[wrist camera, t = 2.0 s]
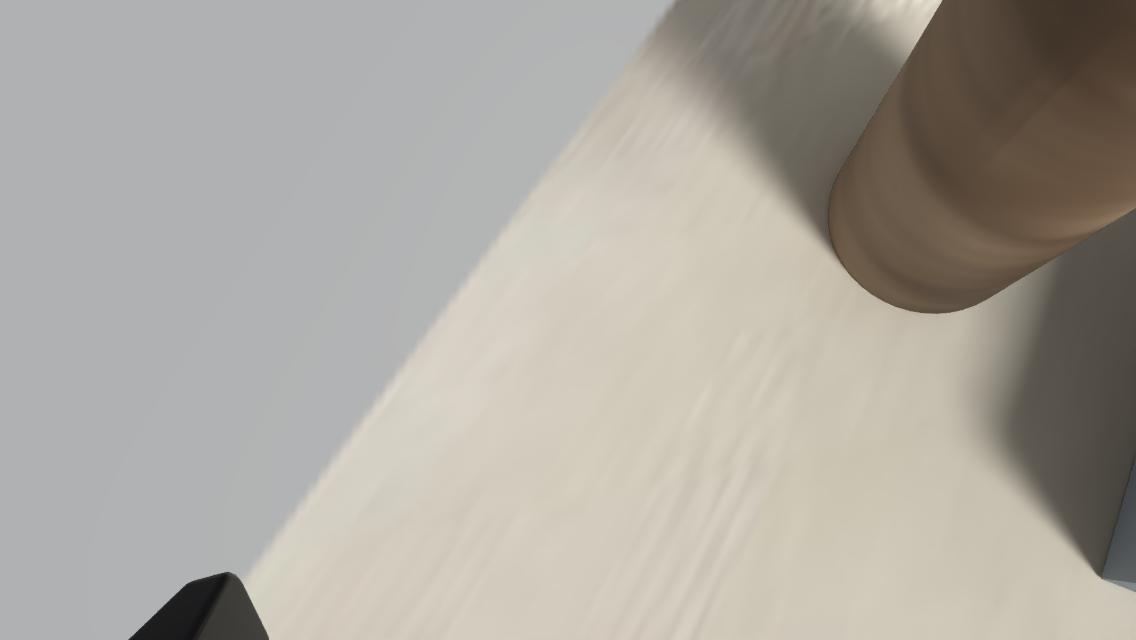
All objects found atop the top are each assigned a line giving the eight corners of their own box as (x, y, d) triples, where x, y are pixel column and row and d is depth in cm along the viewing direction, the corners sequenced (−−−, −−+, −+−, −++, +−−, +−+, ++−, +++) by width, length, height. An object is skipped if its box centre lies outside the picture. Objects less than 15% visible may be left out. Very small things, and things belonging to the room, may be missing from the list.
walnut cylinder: (1030, 135, 23) (1513, -326, 10) (1026, 323, 22) (1557, 64, 9) (834, 119, 24) (1067, -341, 11) (821, 302, 23) (1063, 30, 10)
